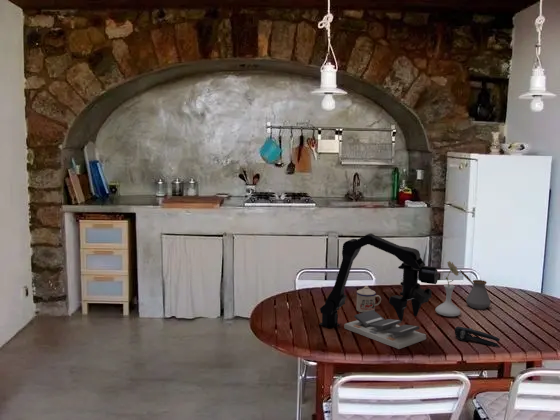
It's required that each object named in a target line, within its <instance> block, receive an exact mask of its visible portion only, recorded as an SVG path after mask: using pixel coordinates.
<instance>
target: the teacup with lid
mask: <svg viewBox="0 0 560 420" xmlns="http://www.w3.org/2000/svg"><path fill="white" fill-rule="evenodd" d="M376 298H378V302H377V303H376ZM381 301H382V298H381V295H379V294H377V293H376V291H375V290H373V289H371V288H370V287H369V286H368V285H365V286H364V287H363V288H360V289H358V290H357V291H356V309H355V310H356V311H357V312H358V313H364V312H368V311H371V310H374V311H375V310H376V307H377V306H378V305H380V304H381ZM375 312H376V311H375Z"/></svg>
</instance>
